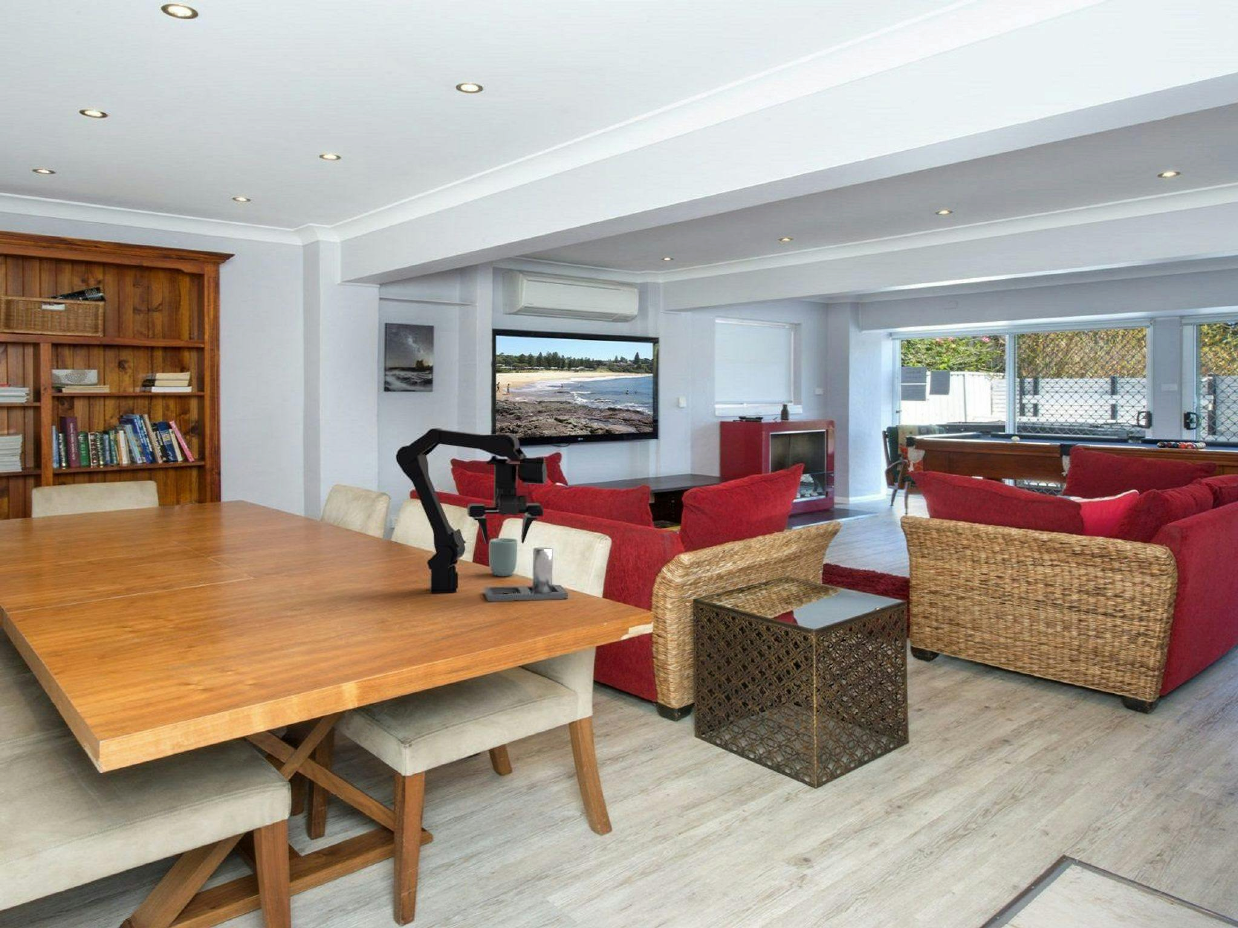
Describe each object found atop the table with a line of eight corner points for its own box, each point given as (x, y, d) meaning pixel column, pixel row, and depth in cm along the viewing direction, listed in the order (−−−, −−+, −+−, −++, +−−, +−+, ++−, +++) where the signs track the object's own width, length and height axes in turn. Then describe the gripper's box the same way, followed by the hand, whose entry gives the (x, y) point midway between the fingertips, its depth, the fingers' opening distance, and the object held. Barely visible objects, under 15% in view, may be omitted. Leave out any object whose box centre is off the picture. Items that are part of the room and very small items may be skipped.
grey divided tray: (488, 601, 221) (488, 595, 221) (483, 592, 230) (483, 587, 230) (567, 598, 226) (567, 592, 226) (560, 590, 236) (560, 584, 235)
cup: (511, 578, 249) (512, 543, 249) (485, 576, 251) (485, 541, 250) (520, 573, 257) (520, 538, 256) (494, 571, 259) (494, 537, 258)
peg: (537, 598, 226) (538, 551, 225) (529, 594, 230) (530, 547, 229) (555, 596, 228) (556, 549, 228) (546, 592, 233) (547, 546, 232)
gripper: (471, 486, 218) (471, 549, 219) (547, 485, 223) (546, 548, 224) (467, 481, 229) (466, 542, 230) (539, 481, 234) (538, 540, 235)
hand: (504, 543), depth 229 cm, fingers open, 9 cm apart
